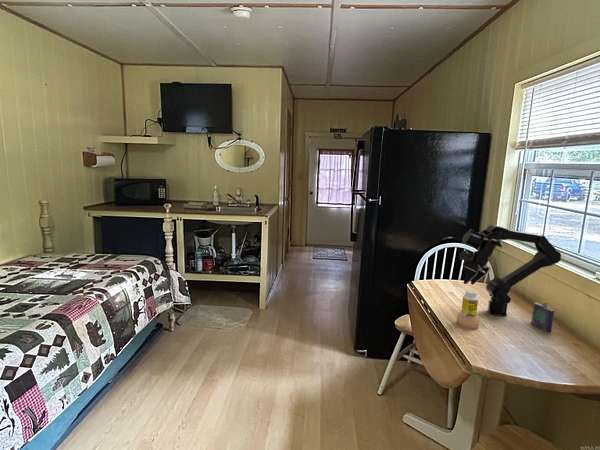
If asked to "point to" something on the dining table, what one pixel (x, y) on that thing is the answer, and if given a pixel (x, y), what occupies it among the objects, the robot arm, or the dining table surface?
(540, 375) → the dining table surface
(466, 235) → the robot arm
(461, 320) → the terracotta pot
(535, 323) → the flask
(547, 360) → the dining table surface
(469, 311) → the supplement bottle
